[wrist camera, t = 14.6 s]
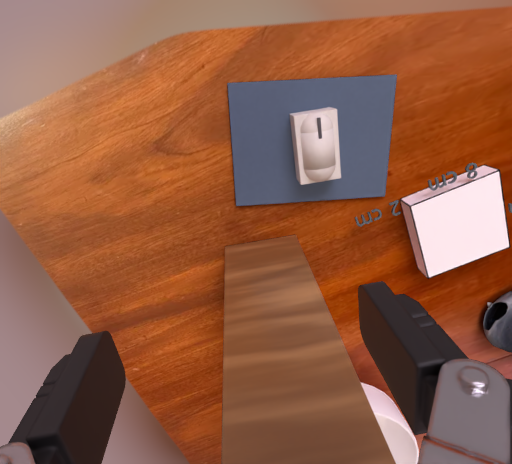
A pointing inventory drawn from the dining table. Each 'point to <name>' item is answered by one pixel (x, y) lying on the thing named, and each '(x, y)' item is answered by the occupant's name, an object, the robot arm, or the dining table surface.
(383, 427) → the bowl
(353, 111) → the mouse pad
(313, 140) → the white boxy piece
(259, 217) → the dining table surface
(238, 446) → the block
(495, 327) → the electronic device
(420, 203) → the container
